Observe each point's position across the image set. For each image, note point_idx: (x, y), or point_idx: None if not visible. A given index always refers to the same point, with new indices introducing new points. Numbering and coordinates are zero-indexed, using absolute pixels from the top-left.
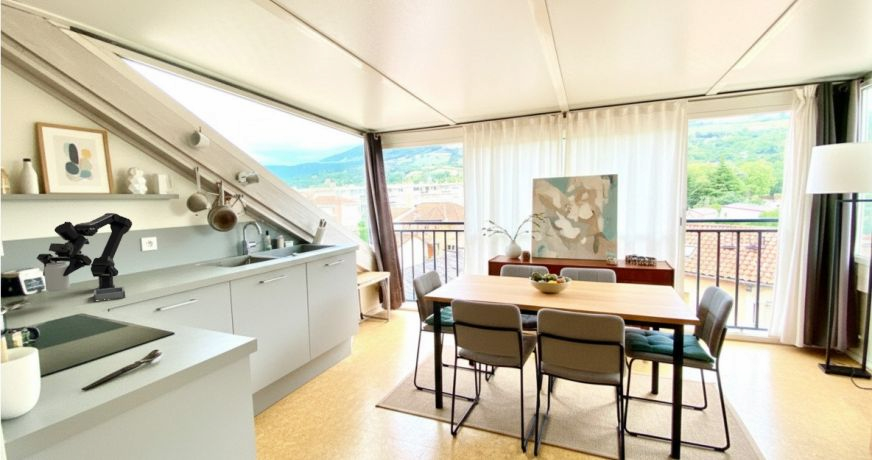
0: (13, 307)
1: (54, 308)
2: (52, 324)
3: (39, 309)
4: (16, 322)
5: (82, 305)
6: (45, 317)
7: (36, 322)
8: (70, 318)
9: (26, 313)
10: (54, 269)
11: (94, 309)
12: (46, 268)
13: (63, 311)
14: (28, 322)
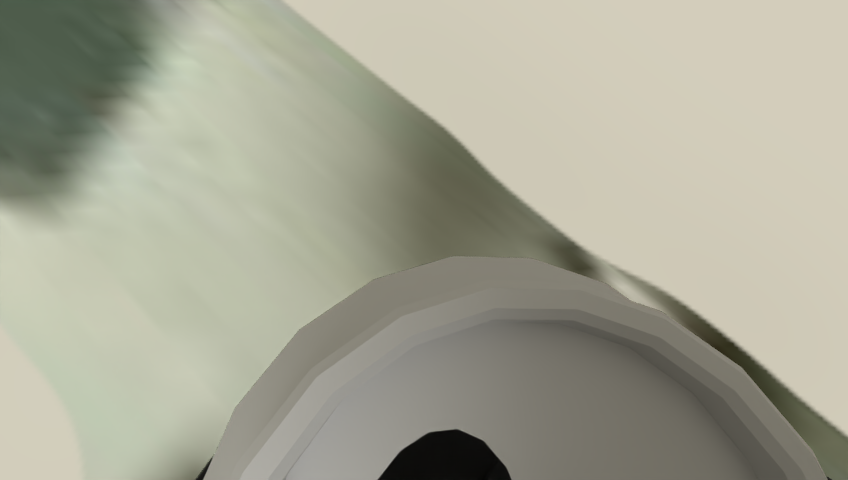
0: (630, 281)
1: (345, 294)
2: (77, 19)
3: (424, 261)
4: (311, 41)
5: (196, 397)
6: (228, 120)
7: (200, 44)
8: (48, 112)
9: (418, 178)
10: (337, 313)
11: (12, 308)
12: (526, 258)
13: (218, 237)
14: (246, 43)
